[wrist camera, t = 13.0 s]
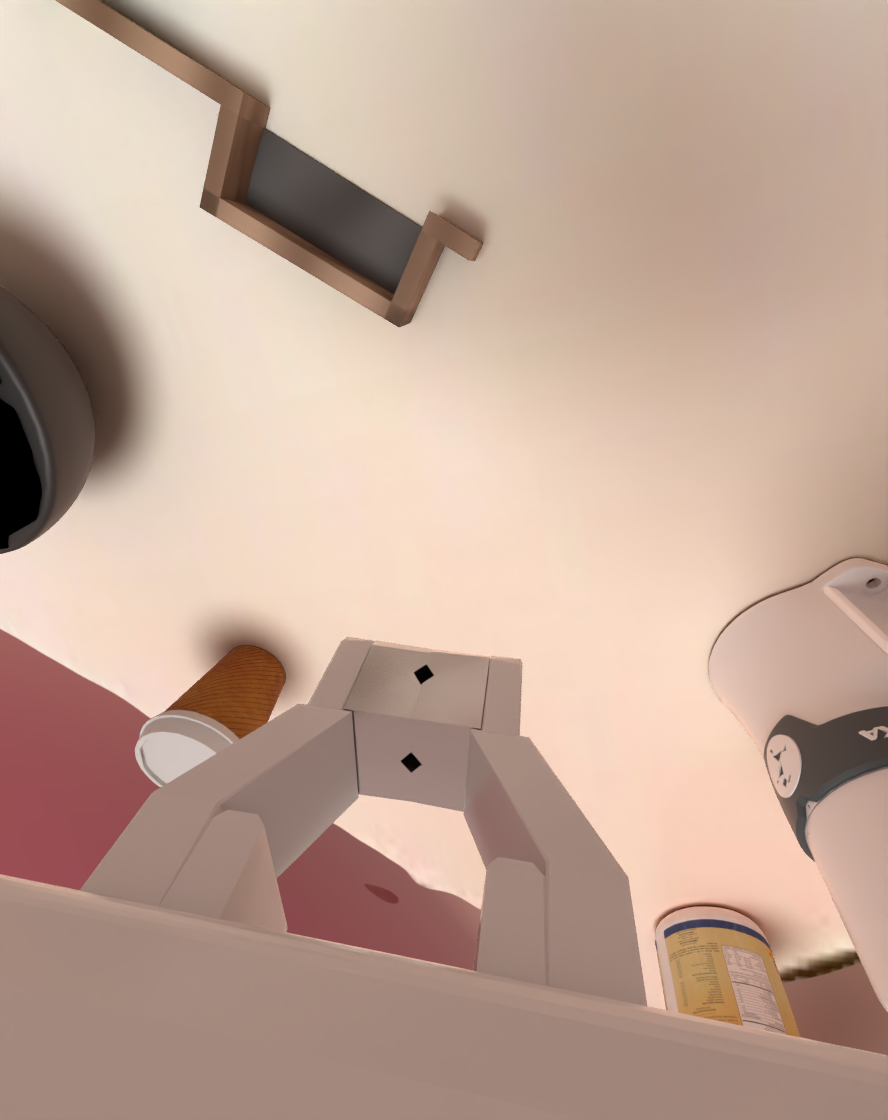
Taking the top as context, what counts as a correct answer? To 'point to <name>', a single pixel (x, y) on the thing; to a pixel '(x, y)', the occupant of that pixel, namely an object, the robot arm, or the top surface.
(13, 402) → the coal bowl
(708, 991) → the supplement tub
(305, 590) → the top surface
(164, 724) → the disposable coffee cup
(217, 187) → the trap lane
